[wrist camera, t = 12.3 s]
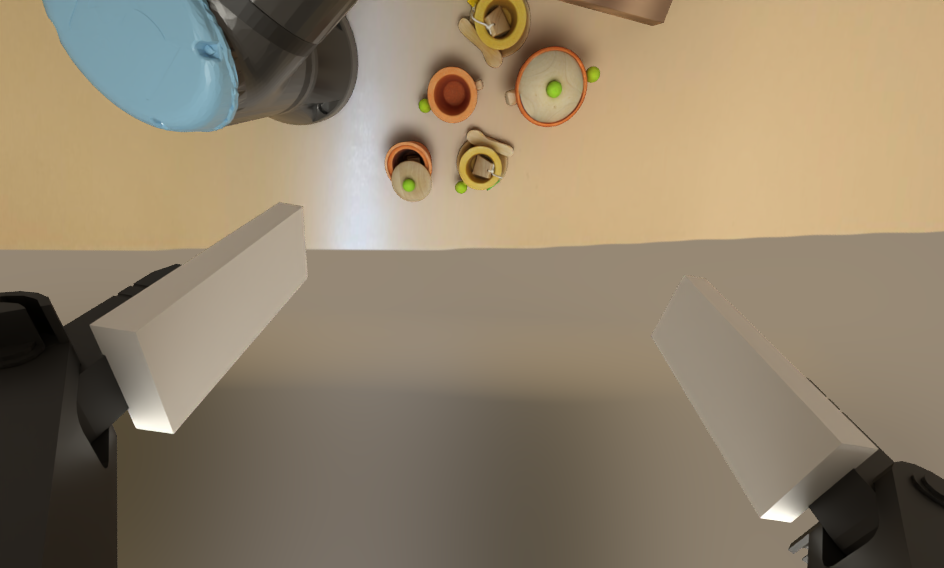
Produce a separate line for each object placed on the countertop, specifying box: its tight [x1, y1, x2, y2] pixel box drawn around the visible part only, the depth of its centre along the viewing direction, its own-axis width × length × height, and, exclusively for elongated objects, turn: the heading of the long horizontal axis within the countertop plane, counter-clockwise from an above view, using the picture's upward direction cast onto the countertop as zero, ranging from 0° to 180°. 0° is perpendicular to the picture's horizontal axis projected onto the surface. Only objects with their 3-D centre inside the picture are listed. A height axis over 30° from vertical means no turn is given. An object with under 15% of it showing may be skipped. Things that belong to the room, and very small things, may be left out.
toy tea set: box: [385, 0, 600, 202], centre depth 42 cm, size 26×16×10 cm, turn 143°
